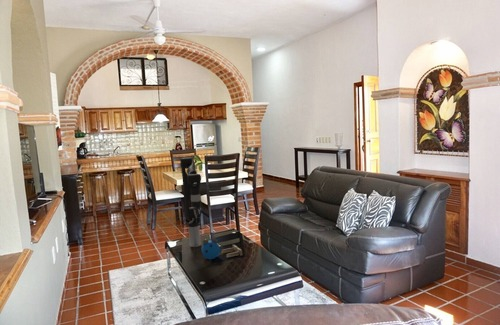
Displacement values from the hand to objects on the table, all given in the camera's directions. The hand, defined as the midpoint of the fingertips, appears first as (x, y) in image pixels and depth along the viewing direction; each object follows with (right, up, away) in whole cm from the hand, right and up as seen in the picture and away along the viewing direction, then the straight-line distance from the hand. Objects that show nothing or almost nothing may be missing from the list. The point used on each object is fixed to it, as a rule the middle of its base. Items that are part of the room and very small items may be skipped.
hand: (198, 222), depth 274 cm
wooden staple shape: (+25, -25, +4) cm, 36 cm away
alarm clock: (+10, -27, -3) cm, 29 cm away
